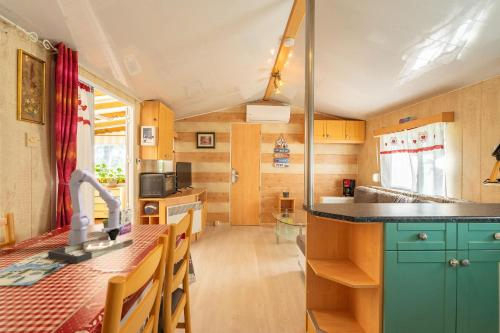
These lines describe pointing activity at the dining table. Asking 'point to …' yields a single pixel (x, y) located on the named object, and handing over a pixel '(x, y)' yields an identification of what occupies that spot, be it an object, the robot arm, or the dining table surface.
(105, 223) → the plant pot
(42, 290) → the dining table surface
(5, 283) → the dining table surface
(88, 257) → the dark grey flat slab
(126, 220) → the candy bar box
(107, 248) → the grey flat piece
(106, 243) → the white brass knuckles
